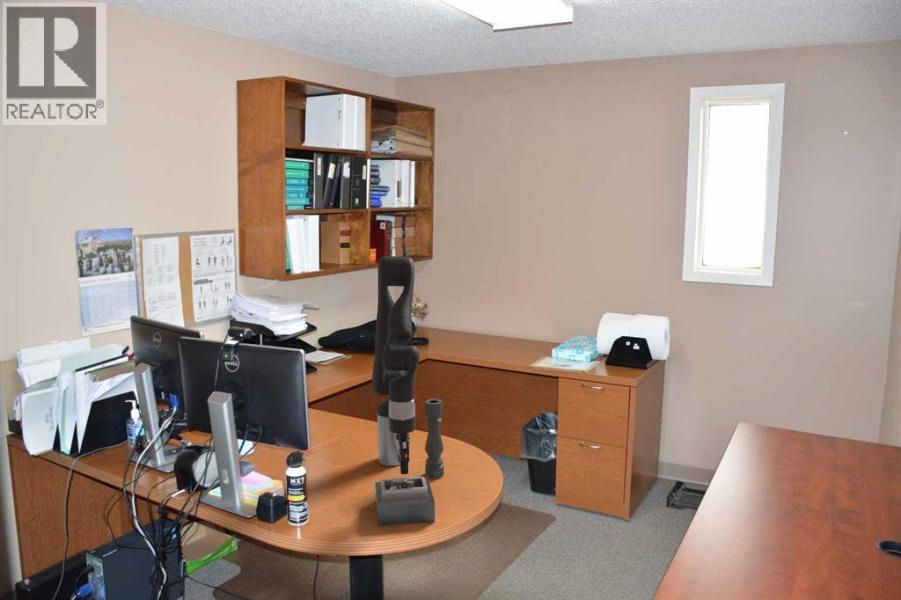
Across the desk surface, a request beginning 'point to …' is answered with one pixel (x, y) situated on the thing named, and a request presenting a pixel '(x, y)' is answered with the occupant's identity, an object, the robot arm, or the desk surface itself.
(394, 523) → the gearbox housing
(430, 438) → the candle holder
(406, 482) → the lighter
